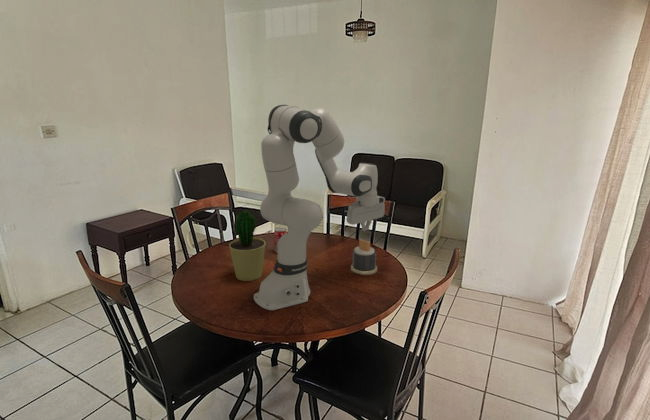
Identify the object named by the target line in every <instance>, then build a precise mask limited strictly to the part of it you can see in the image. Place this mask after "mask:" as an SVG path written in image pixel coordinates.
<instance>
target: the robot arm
mask: <svg viewBox="0 0 650 420" xmlns="http://www.w3.org/2000/svg"><path fill="white" fill-rule="evenodd" d="M267 118H268V125H267V133H268V135H266V136H265V137H264V138H262V140H261V158H262V164H263V167H264V171H265V176H266V180H267V184H268V193H267V196H266V197H264V199H263V200H262V202H261V203H260V208H259V209H260V210H259V211H260V214H261V217H262V218H263V219H265V220H266V221H268V222H270V223H272V224H276V225H280V226H281V225H282V226H286V227H287V234H286V235H284V236H282V237H281V238H280V239H279V240H278V242H277V252H276V253H277V254H276V255H277V258H276V261H275V263H274V262H273V261H270V262H268V267H269V268H271V269H273V270H272V271H271V272H270V273H269V274H268V275H267V276H266V277H265V278H264V279H263V280H262V281H261V282H260V285H259V290H258V292H256V293H254V294H253V301H254V302H255V304H257V305H258V306H259V307H261V308H263V309H265V310H266V311H267V310H268V311H276V310H279V309H280V310H281V309H285V308H288V307H292V306H296V305H300V304H303V303H306V302H308V301H309V296H310V295H311V289H310V285H309V281H308V275H307V274H308V273H307V271H308V270H307V269H308V259H307V242H308V238H309V236H310V234H311V233H312V232H313V231H314V230H315V229H317V228H318V227H319V226H320V225H321V223H322V221H323V216H324V213H323V209H322V207H321V205H320V204H319V203H317V202H315V201H312V200H310V199H305V198H297V197H294V196H292V194H291V193H292V192H293V190H295V189H296V188H297V187H298V185H299V181H300V177H299V172H298V167H297V161H296V158H295V155H294V145H295V142H297V143H298V144H308V143H312V144H313V147H314V148H315V149H314V153H315V157H316V159H317V162H318V164H319V166H320V169H321V170H322V173H323V174H324V177H325V182H326V185H327V188H328V190H329V191H330V192H331V193H333V194H342V195H347V196H351V197H355V198H356V200H355V202H351V203H350V204H349V205H348V210H347V214H346V223H347V224H349V225H357V224H360V226H361V230H362V231H363V232H365V231H369V230H370V226H371V224H372V220H376V219H380V218H383V217H384V216H385V211H386V210H385V209H386V207H385V206H386V205H385V202H386V198H385V197H384V196H380V195H378V190H377V187H378V177H379V175H378V173H379V172H378V168H377V165H376V164H375V163H368V162H360V163H359V164H358V167H357V168H356V169H355V170H353V171H347V170H342V169H341V168H338V167H337V164H336V162H335V159H334V158H335V157H338V155H340V153H341V152H342V150H343V148H344V145H345V139H344V136H343V133H342V131H341V130H340V128H339V126H338V124H337V123H336V121H335V119H334V118H333V116H331V114H330V113H329V112H328V111H327V110H326V109H325V108H323V107H315V108H312V109H310V110H305V109H303V108H300V107H298V106H294V105H289V104H279V105H277V106H274V107H273V108H272V109H271V110H270V112H269V115H268V117H267Z"/></svg>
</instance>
